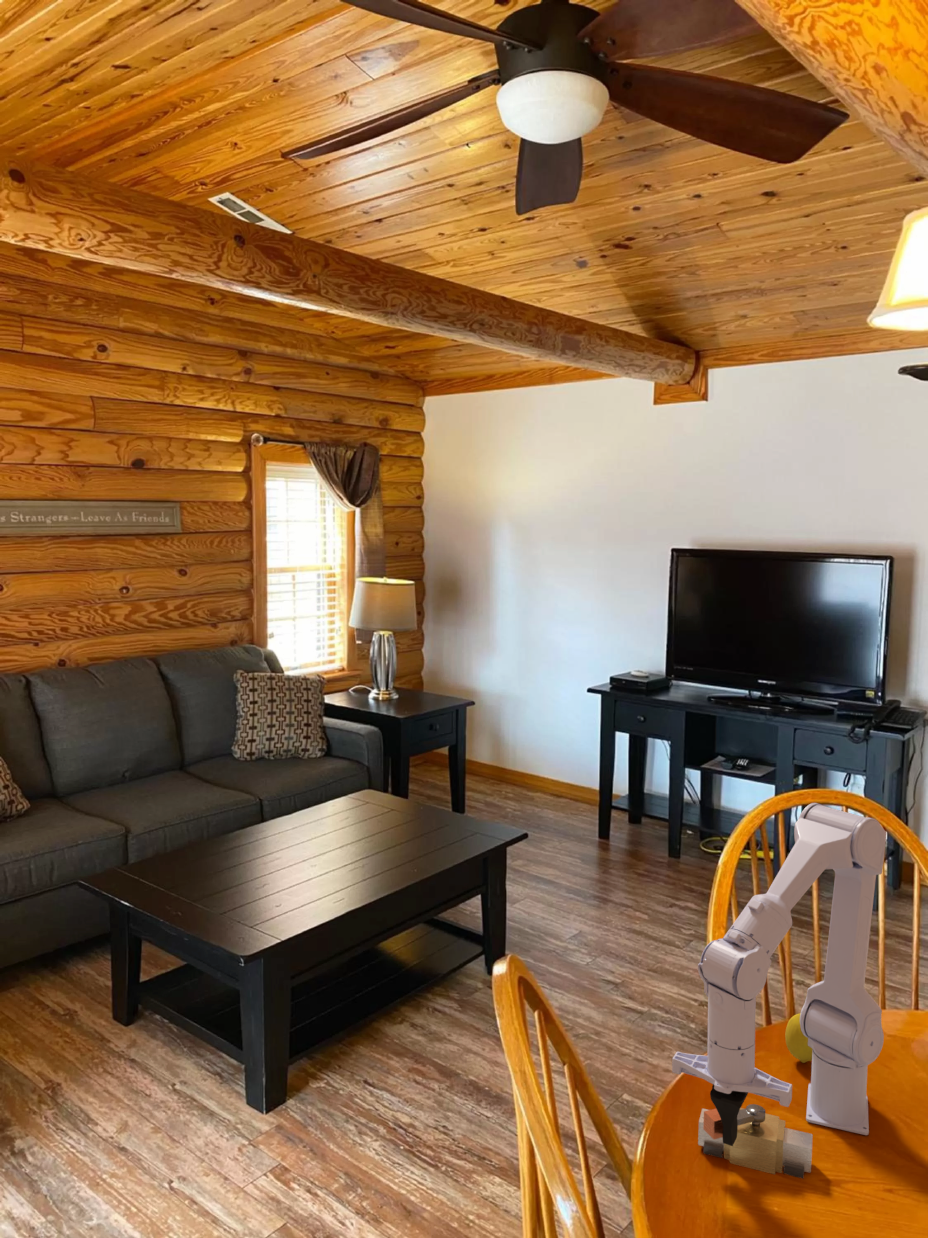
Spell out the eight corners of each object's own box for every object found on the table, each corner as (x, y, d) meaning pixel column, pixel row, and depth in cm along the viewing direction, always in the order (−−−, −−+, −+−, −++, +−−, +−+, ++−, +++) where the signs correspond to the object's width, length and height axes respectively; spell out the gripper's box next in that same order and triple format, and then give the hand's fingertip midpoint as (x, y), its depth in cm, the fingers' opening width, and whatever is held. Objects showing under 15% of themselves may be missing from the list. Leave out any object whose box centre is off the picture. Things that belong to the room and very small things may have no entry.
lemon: (823, 1075, 140) (825, 1024, 140) (784, 1069, 142) (786, 1018, 141) (820, 1056, 146) (823, 1007, 145) (783, 1050, 147) (785, 1001, 146)
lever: (756, 1115, 123) (757, 1097, 123) (768, 1125, 121) (769, 1108, 120) (702, 1129, 120) (703, 1111, 120) (714, 1140, 118) (714, 1122, 117)
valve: (702, 1130, 127) (703, 1095, 126) (811, 1156, 122) (813, 1120, 121) (696, 1154, 122) (697, 1118, 121) (810, 1183, 116) (811, 1146, 116)
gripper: (664, 1037, 116) (663, 1139, 118) (783, 1070, 109) (781, 1179, 110) (682, 1012, 122) (681, 1109, 124) (796, 1042, 115) (794, 1145, 116)
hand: (729, 1140), depth 117 cm, fingers closed, pressing on lever
